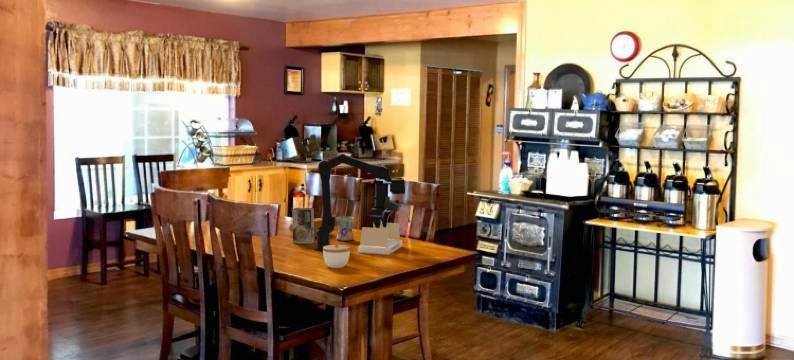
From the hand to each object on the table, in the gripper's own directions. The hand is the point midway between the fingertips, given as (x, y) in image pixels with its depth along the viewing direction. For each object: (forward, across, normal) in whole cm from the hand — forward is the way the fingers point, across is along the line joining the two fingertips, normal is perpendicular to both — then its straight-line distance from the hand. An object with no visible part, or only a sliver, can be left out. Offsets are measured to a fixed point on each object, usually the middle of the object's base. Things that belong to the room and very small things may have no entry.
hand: (381, 229), depth 320 cm
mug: (+9, +17, +24) cm, 31 cm away
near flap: (+2, -10, 0) cm, 10 cm away
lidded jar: (+9, -39, +6) cm, 41 cm away
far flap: (+2, +7, 0) cm, 7 cm away
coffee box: (+9, +3, +39) cm, 40 cm away
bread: (+9, +21, +44) cm, 50 cm away
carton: (+9, -1, 0) cm, 9 cm away
